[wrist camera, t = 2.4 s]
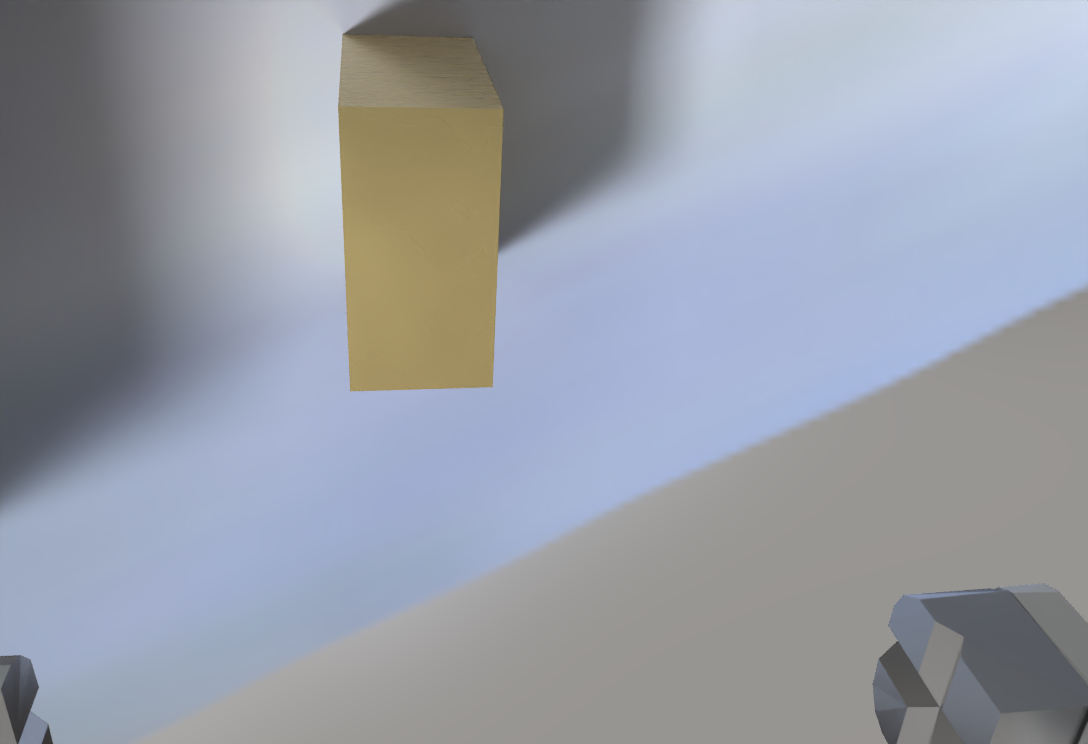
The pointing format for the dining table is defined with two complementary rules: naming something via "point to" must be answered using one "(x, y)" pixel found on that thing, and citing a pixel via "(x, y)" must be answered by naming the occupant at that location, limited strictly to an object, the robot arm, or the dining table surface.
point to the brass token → (419, 211)
